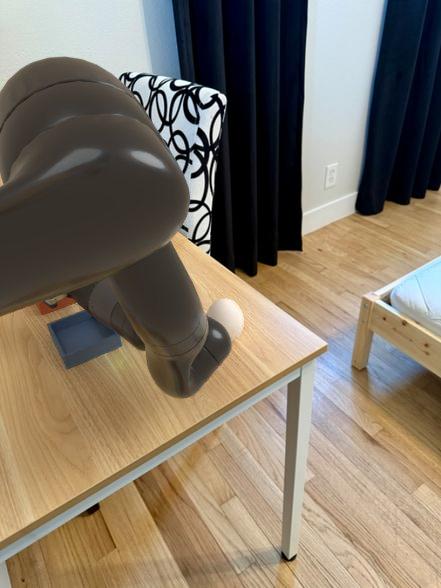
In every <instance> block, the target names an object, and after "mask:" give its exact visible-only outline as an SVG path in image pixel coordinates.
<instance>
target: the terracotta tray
mask: <svg viewBox="0 0 441 588" xmlns="http://www.w3.org/2000/svg"><path fill="white" fill-rule="evenodd" d="M57 303H58V306H57V307H56V308H53V309H52V308H50V307H48V306H47V305H46V304H44V303H43V302H40V303H37V304H35V305H36V307H37V309H38V311H39V313H40V315H41V316H43V315H46V314H49V313H51V312H54V311H58V310H60V309H62V308H66V307H68V306H71V305H74V304H78V303H77V302H76V301H75V300H74V299H71V298H67V297H65V298H63V299H61V300H59V301H57Z"/></svg>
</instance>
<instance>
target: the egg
mask: <svg viewBox="0 0 441 588" xmlns="http://www.w3.org/2000/svg"><path fill="white" fill-rule="evenodd" d="M205 314H206V315H207V316H209V317H212V318H213V319H215V320H217V321H218V322H219V323H221V324H222V325H223V326H224V327H225V328H226V330H227V331H228V333H229V335H230V337H231V341H232V342H233V341H235V340H236V339H238V338H239V336H241V334H242V332H243V330H244V325H245V317H244V313H243V310H242V309H241V308H240V305H238V303H236V302H235V301H234V300H233V299H230V298H227V297H224V298H223V297H221V298H219V299H216V300H215V301H213V302H212V303H211V305H210V306H209V307H208V309H207V311H206V312H205Z"/></svg>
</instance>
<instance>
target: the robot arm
mask: <svg viewBox="0 0 441 588" xmlns="http://www.w3.org/2000/svg"><path fill="white" fill-rule="evenodd" d="M0 178H1V182H2V185H0V317H3V316H6V315H9V314H13V313H15V312H17V311H20V310H24V309H26V308H28V307H31V306H35V305H36V304H37V303H40V302H43V303H44V304H46V305H47V306H48V307H50V308H52V309H53V308H56V307H57V306H58V303H57V301H59V300H61V299H63V298H65V297H67V298H71V299H74V300H75V301H76V302H77V303H76V304H77V305H79V306H80V307H81V308H82V310H86V311H87V312H88V313H90V314H91V315H92V316H93V317H94V318H95V319H96V320H97V321H99V322H101V323H102V324H103V325H104V326H106V327H107V328H109V329H111V330H113V331H114V332H116V333H117V334H118V335H120V337H121V339H123V340H124V341H126V342H127V343H128V344H129V345H130V346H131V347H133V348H134V349H136V350H138V351H140V352H145V362H146V367H147V370H148V372H149V375H150V378H151V379H152V381H153V382H154V384H155V385H156V386H157V388H158V389H159V390H160V391H162V392H163V393H164V394H165V395H167V396H168V397H171V398H173V399H177V400H185V399H189V398H191V397H193V396H195V395H196V394H197V393H198V392H199V391H200V390H201V389H202V388H203V386H205V384H206V383H207V382H208V381H209V380H210V378H211V377H212V376H213V375H214V374H215V372H216V371H217V370H218V369H219V368H220V367H221V365H222V364H223V363H224V362H225V361H226V359H227V358H228V357H229V355H230V354H231V352H232V349H233V341H231V337H230V335H229V333H228V331H227V330H226V328H225V327H224V326H223V325H222V324H221V323H219V322H218V321H217V320H215V319H213V318H212V317H209V316H207V315H206V311H205V309H204V305H203V303H202V300H201V298H200V296H199V293H198V291H197V289H196V286H195V284H194V282H193V280H192V278H191V276H190V274H189V272H188V270H187V268H186V267H185V265H184V263H183V261H182V259H181V258H180V255H179V253H178V252H177V249H176V248H175V246H174V244H173V242H172V240H173V238H174V237H175V236H176V235H177V234H178V232H179V231H181V228H182V227H183V225H184V223H185V221H186V219H187V217H188V215H189V214H188V213H189V210H190V204H191V192H190V187H189V184H188V181H187V179H186V177H185V174H184V172H183V170H182V168H181V167H180V165H179V162H178V161H177V159H176V158H175V156H174V154H173V153H172V151H171V148H169V147H168V145H167V143H166V140H164V138H163V136H162V134H161V133H160V131H159V130H158V128H157V127H156V125H155V123H154V122H153V121H152V119H151V118H150V115H149V114H148V112H147V111H146V109H145V107H144V106H143V104H142V103H141V102H140V101H139V99H138V98H137V97H136V96H135V94H134V93H133V91H132V90H130V88H129V87H127V85H125V84H124V83H123V81H121V80H120V79H119V78H118V77H117V76H115V75H114V74H113V73H112V72H110V71H108V70H107V69H105V68H103V67H102V66H100V65H98V64H97V63H94V62H91V61H88V60H85V59H83V58H79V57H78V58H77V57H71V56H64V55H63V56H49V57H45V58H41V59H38V60H34V61H31V62H30V63H28V64H25V65H24V66H22V67H21V68H19V70H17V71H16V72H15V73H14V74H13V75H11V77H10V78H8V79H7V81H6V82H5V83H4V85H3V86H2V88H1V90H0Z"/></svg>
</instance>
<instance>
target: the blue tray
mask: <svg viewBox="0 0 441 588" xmlns="http://www.w3.org/2000/svg"><path fill="white" fill-rule="evenodd" d="M46 327H47V329H48V332H49V335H50V338H51V339H52V341H53V344H54V346H55V348H56V350H57V352H58V355H59V356H60V359H61V361H62V363H63V365H64V368H65V369H66V370H70V369H71V368H75V367H76V366H79V365H81V364H84V363H86V362H88V361H91V360H93V359H95V358H98V357H100V356H103V355H105V354H107V353H109V352H112V351H114V350H118V349H119V348H121V347H123V342H122V337H121V336H120V335H118V334H117V333H116V332H114V331H113V330H111V329H109V328H107V327H106V326H104V325H103V324H102V323H101V322H99V321H97V320H96V319H95V318H94V317H93V316H92V315H91V314H90V313H88V312H87V311H86V310H85V309H82V310H79V311H77V312H75V313H71V314H69V315H66V316H63V317H60V318H58V319H55V320H53V321H50V322H48V323H46Z"/></svg>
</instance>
